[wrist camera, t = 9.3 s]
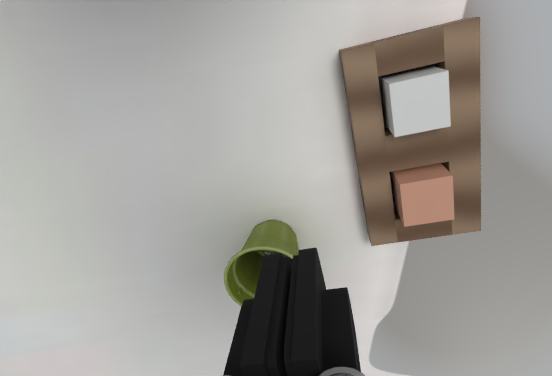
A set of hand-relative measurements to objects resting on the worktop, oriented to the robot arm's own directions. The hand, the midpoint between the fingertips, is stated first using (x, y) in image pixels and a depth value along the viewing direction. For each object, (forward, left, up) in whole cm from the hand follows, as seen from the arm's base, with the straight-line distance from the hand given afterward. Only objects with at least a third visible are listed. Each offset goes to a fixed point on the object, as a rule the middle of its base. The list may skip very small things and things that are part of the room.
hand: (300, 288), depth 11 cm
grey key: (+1, +10, -28) cm, 29 cm away
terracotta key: (+11, +10, -28) cm, 31 cm away
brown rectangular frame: (+6, +10, -29) cm, 31 cm away
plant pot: (+16, -8, -29) cm, 34 cm away
